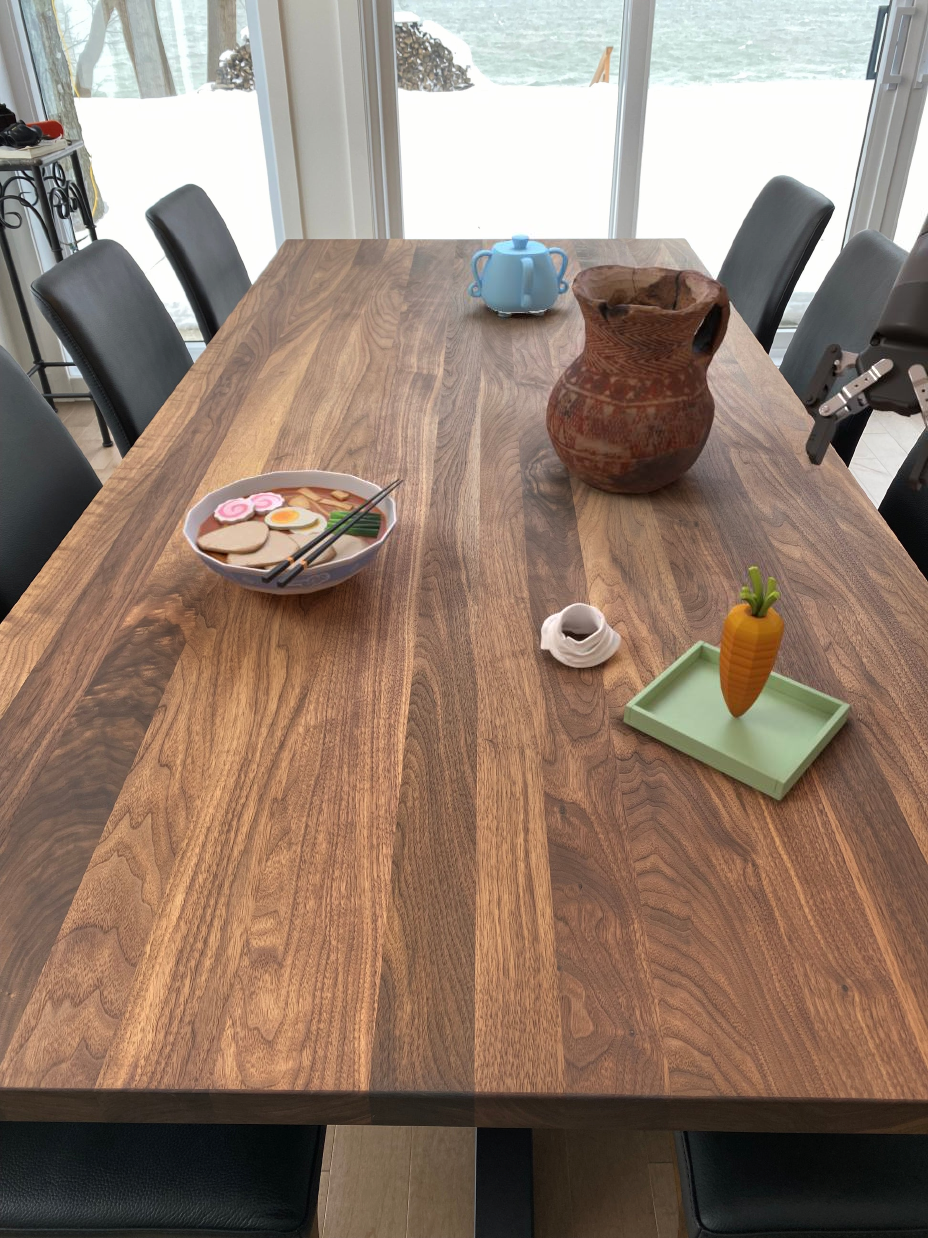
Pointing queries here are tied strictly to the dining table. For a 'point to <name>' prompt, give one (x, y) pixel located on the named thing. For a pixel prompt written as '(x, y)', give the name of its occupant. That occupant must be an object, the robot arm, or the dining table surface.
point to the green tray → (737, 722)
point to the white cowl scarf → (579, 622)
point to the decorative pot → (519, 276)
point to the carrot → (749, 645)
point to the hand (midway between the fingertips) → (862, 474)
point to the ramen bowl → (291, 529)
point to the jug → (639, 377)
